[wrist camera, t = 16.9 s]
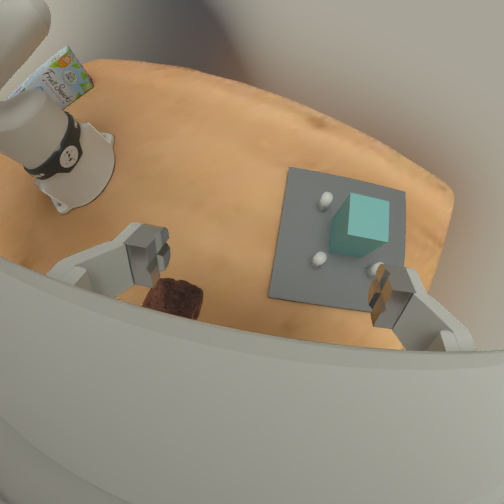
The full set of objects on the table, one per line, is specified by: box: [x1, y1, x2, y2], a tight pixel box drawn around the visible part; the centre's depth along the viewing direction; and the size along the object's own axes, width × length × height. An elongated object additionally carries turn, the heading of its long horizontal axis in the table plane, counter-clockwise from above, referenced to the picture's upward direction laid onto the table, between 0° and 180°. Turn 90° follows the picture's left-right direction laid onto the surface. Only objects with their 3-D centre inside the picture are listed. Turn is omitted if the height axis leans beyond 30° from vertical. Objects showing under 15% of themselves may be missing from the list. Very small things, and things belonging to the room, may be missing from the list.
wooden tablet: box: [142, 278, 203, 320], centre depth 37 cm, size 26×2×10 cm
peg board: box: [268, 167, 406, 312], centre depth 37 cm, size 20×20×6 cm
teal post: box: [328, 193, 389, 258], centre depth 33 cm, size 5×5×10 cm
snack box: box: [7, 45, 94, 110], centre depth 43 cm, size 21×6×15 cm, turn 120°
